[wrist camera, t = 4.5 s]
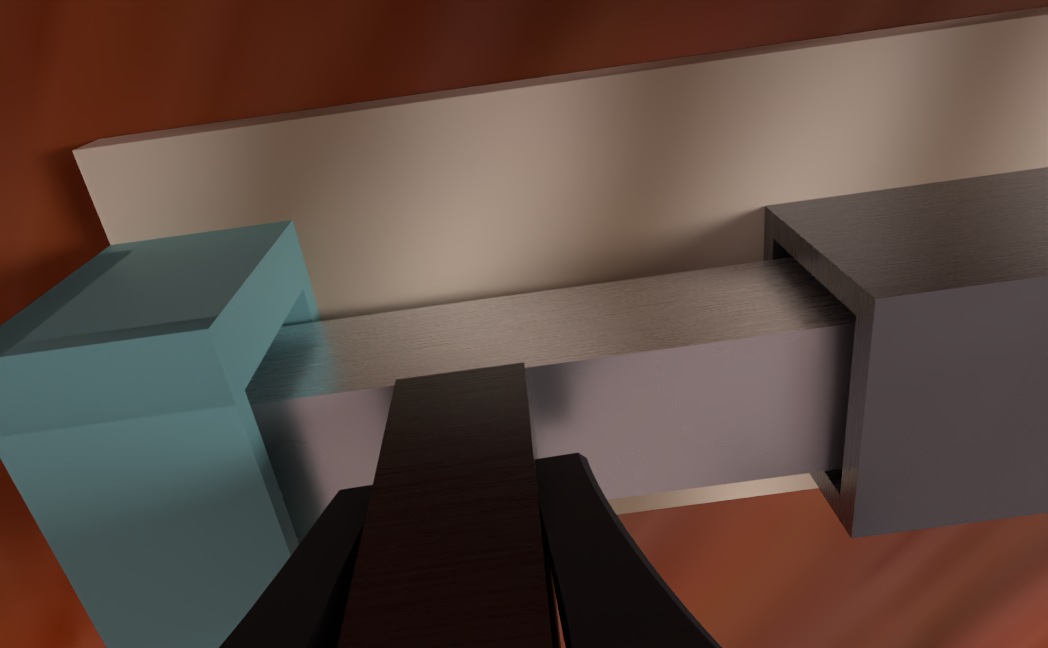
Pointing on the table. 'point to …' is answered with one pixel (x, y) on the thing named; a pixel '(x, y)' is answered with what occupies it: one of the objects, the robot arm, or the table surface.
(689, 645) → the robot arm
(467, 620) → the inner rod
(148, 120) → the table surface
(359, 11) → the table surface
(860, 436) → the outer sleeve
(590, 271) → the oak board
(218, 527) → the bracket socket
